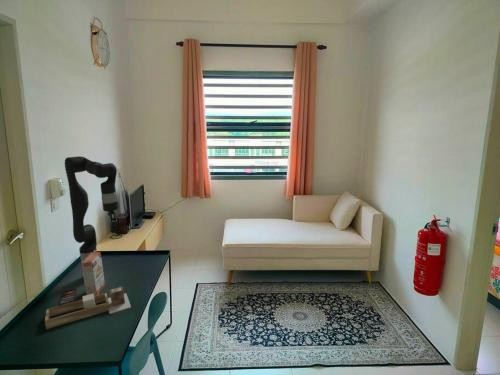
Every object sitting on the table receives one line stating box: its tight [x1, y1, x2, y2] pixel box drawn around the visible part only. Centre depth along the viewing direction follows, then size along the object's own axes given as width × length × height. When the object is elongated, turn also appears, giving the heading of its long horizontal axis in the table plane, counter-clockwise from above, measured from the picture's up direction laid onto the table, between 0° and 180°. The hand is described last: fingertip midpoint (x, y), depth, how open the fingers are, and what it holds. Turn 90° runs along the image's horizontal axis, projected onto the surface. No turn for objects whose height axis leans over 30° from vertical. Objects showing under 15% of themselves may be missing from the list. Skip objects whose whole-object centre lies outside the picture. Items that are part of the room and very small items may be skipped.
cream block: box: [82, 293, 97, 309], centre depth 155 cm, size 6×5×7 cm
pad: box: [108, 292, 132, 315], centre depth 160 cm, size 16×10×1 cm, turn 30°
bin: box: [44, 292, 110, 330], centre depth 153 cm, size 12×27×4 cm, turn 120°
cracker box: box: [81, 251, 106, 296], centre depth 172 cm, size 14×6×21 cm, turn 8°
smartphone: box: [58, 288, 78, 306], centre depth 170 cm, size 7×1×15 cm
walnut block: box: [109, 286, 125, 306], centre depth 160 cm, size 6×5×7 cm
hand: (113, 230), depth 168 cm, fingers open, 8 cm apart
